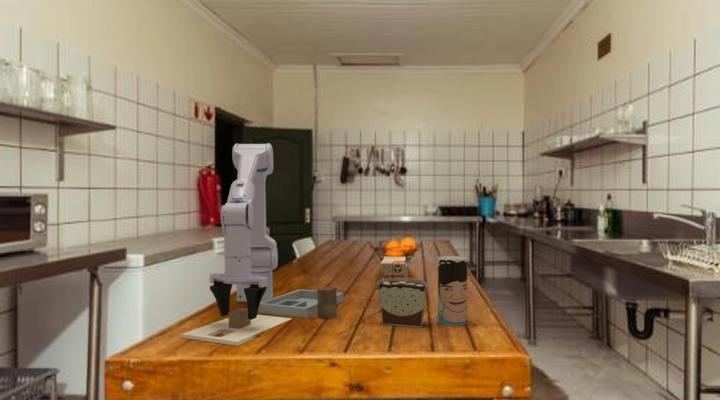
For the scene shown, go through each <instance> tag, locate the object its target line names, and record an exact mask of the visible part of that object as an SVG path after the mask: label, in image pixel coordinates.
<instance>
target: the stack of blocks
mask: <svg viewBox="0 0 720 400" xmlns="http://www.w3.org/2000/svg"><path fill="white" fill-rule="evenodd" d="M406 258H407V257H406V256H383V259H382V260H381V262H380V280H383V279H390V278H409V277H408V274H409V273H408V263H407V259H406Z"/></svg>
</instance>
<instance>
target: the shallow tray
mask: <svg viewBox="0 0 720 400" xmlns="http://www.w3.org/2000/svg"><path fill="white" fill-rule="evenodd" d="M344 301H345V293H344V292H337V305H338V304H340V303H344ZM257 314H265V315H267V314H268V315H276V316H282V317H283V316H284V317H291V318H292V317H293V318H294V317H295V318H303V319H308V318H309V317H312V316H314V315H316V314H318V298H317V290H315V289H314V290H313V289H303V288H302V289H301V288H299V289H297V290H293V291H291V292H290V291H289V292H287V293H284V294H282V295H279V296H276V297H273V298H272V299H269V300H266V301H263V302H260V305H259V308H258V313H257Z"/></svg>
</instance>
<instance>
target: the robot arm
mask: <svg viewBox="0 0 720 400" xmlns="http://www.w3.org/2000/svg"><path fill="white" fill-rule="evenodd" d="M273 150H274V149H273V145H272V144H271V143H269V142H268V143H235V144H234V145H233V146H232V153H231V155H232V156H231V157H232V158H231V159H232V164H233V165H234V167H235V169H236V170H237V178H236V179H235V180H234V181H232V183H231V185H230V188H229V193H228V196H227V201H226V203H225V204H223V205H221V207H220V224H221V228H222V229H221V230H222V236H223V238H224V241H223V242H224V243H223V244H224V273H217V272H215V273H212V274H209V283H210V284H212V285H210V286H209V290H210V291H211V293H212V294H213V296H214V297H213V298H215V301H216V303H217V307H218V310H219V314H220V317H225V316H229V311H231V307H230V305H231V292H232V287H233V285H236V302H245V303H246V306H247V309H248V319H249V320H252V319H254V318H257V315H258V314H259V313H258V308H259V305H260V302H263V301H266V300H269V299H272V298H274V295H273V294H274V293H273V290H274V289H273V270H275V269H276V268H277V267H278V262H279V261H278V260H279V255H278V246H277V244H278V243H277V241H276V240H275V239H274V238H272V237H271V236H269V235H268V234H267V201H266V200H267V199H266V198H267V197H266V180H267V176H268V175H272V174H273V173H274V172H273V171H274V151H273Z"/></svg>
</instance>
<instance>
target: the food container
mask: <svg viewBox="0 0 720 400" xmlns="http://www.w3.org/2000/svg"><path fill="white" fill-rule="evenodd" d="M375 290H376V291H377V290H378V298H379V307H380V315H381V316H380V317H381V324H382V325H384V326H385V325H386V326H387V325H388V326H395V327H396V326H397V327H410V328H412V327H413V328H424V327H423V325H424V316H425V304H426V295H427V293H428V294H429V286H428V284H427V281H425V280H423V279H417V278H412V277H411V278H410V277H408V278H390V279H383V280H381V279H380V280H377V283H376V287H375Z"/></svg>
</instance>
